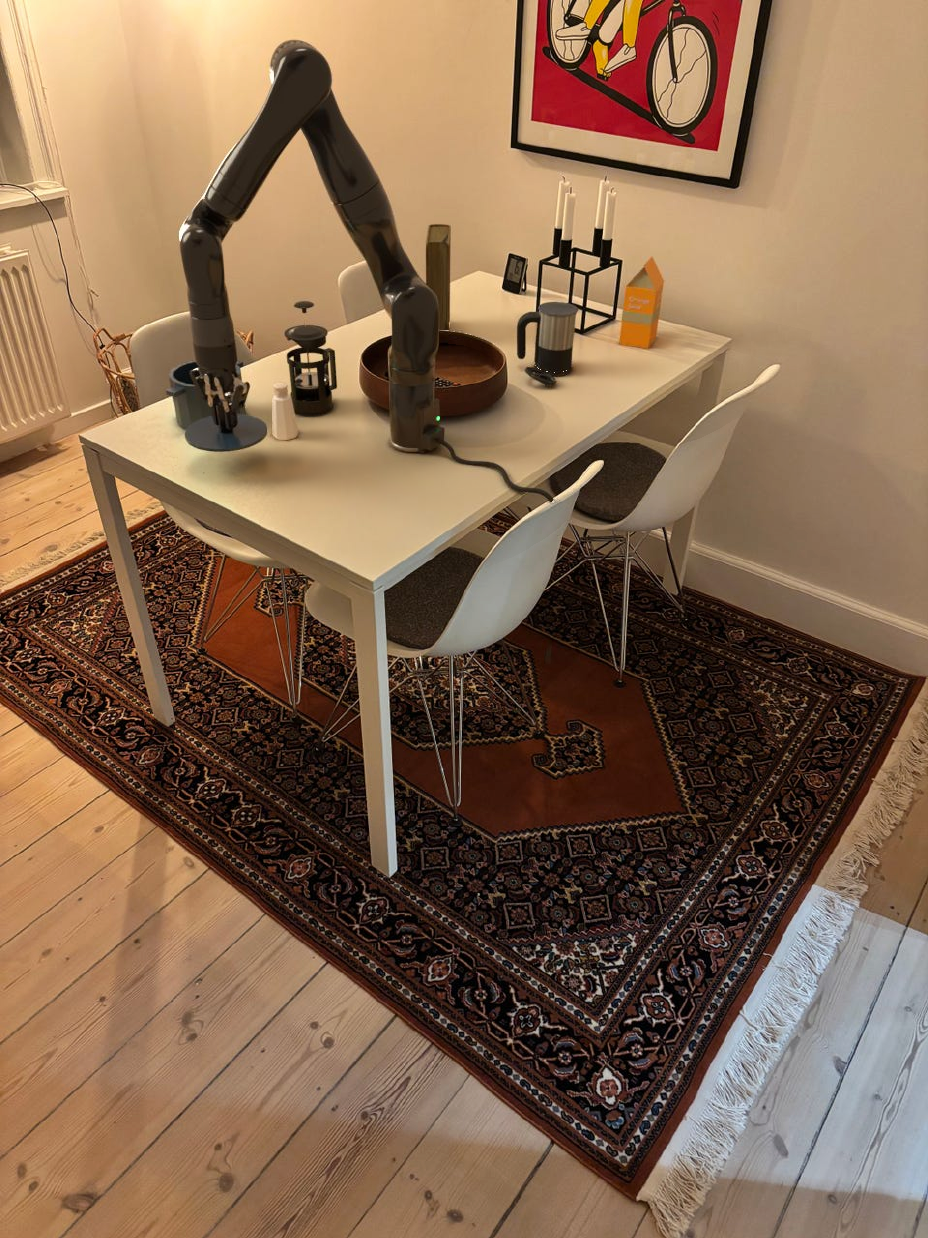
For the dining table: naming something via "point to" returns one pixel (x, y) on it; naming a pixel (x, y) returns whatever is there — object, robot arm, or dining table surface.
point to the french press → (310, 382)
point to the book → (439, 269)
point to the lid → (225, 432)
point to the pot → (191, 395)
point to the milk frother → (549, 340)
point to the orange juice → (642, 307)
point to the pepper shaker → (283, 414)
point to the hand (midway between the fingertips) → (225, 425)
